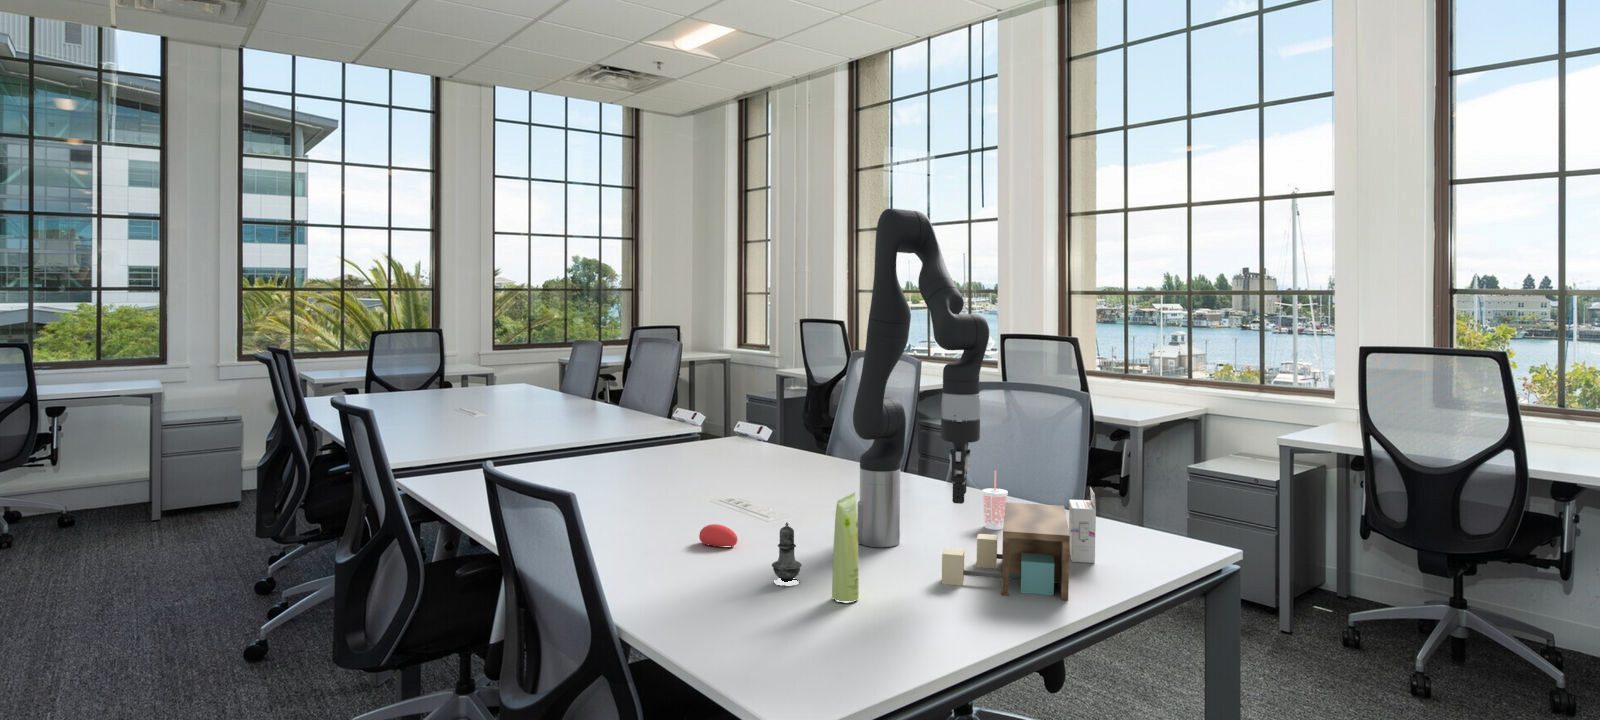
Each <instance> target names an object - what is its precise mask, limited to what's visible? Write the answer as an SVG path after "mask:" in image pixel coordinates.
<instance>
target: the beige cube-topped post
mask: <svg viewBox="0 0 1600 720" xmlns="http://www.w3.org/2000/svg"><path fill="white" fill-rule="evenodd" d="M998 560H1002V554H1001V553H998V534H989V533H988V534H987V533H978V534H977V537H976V568H984V569H985V568H987V569H997V565H998V564H997V563H998Z"/></svg>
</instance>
